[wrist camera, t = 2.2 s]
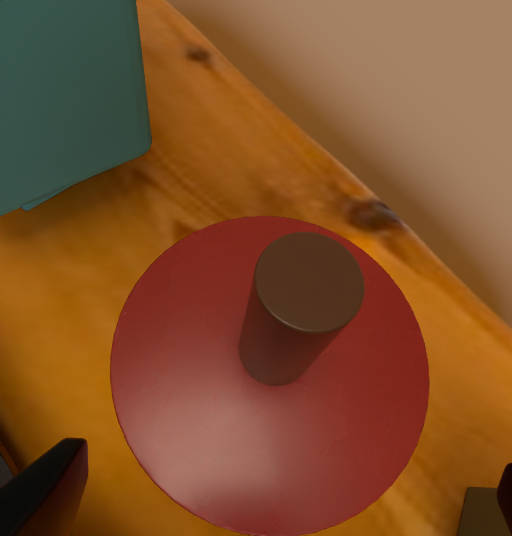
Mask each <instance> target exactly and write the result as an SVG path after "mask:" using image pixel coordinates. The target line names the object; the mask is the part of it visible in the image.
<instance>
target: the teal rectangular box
mask: <svg viewBox="0 0 512 536" xmlns="http://www.w3.org/2000/svg"><path fill="white" fill-rule="evenodd" d="M151 143H152V137H151V129H150V120H149V111H148V102H147V93H146V85H145V76H144V67H143V58H142V49H141V41H140V32H139V23H138V14H137V6H136V0H0V216H2V215H4V214H6V213H9V212H11V211H13V210H16V209H18V208H20V207H21V208H22V209H23V210H25V211H28V210H30V209H32V208H34V207H35V206H37V205H39V204H41V203H42V202H44V201H46V200H48V199H49V198H51V197H53V196H55V195H56V194H58V193H60V192H62V191H63V190H65V189H67V188H69V187H70V186H72V185H74V184H76V183H79V182H81V181H83V180H86V179H88V178H90V177H93V176H95V175H97V174H100V173H102V172H104V171H107V170H109V169H111V168H114V167H116V166H118V165H121V164H123V163H125V162H128V161H130V160H132V159H135V158H137V157H139V156H142V155H144V154H145V153H146V152H148V151H149V149H150V147H151Z"/></svg>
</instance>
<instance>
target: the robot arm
mask: <svg viewBox="0 0 512 536" xmlns="http://www.w3.org/2000/svg"><path fill="white" fill-rule="evenodd" d="M87 478H88V445H87V441H86V440H85V439H83V438H65V439H63V440H62V441H60V442H59V443H58V444H56V445H55V446H54V447H52V448H51V449H50V450H48V451H47V452H46V453H44V454H43V455H42V456H41V457H39V458H38V459H37V460H35V461H34V462H33V463H31V464H30V465H29V466H27V467H26V468H25V469H23V470H22V471H21V472H19V473H18V474H17V475H16V476H14V477H13V478H12V479H10V480H9V481H8V482H6V483H5V484H4V485H2V486H1V487H0V536H70V533H71V530H72V527H73V524H74V521H75V517H76V514H77V511H78V508H79V505H80V501H81V498H82V495H83V492H84V489H85V485H86V482H87ZM496 498H497V502H498V505H499V508H500V510H501V512H502V515H503V517H504V519H505V522H506V524H507V527H508V529H509V531H510V534H511V536H512V463H509V464H507V465H506V467H505V469H504V472H503V474H502V477H501V480H500V482H499V485H498V488H497V491H496Z"/></svg>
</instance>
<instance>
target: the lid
mask: <svg viewBox="0 0 512 536" xmlns="http://www.w3.org/2000/svg"><path fill="white" fill-rule="evenodd" d="M110 381H111V389H112V398H113V403H114V407H115V411H116V414H117V418H118V422H119V425H120V427H121V429H122V432H123V434H124V437H125V439H126V441H127V444H128V446H129V447H130V449H131V451H132V452H133V454H134V456H135V457H136V459H137V461H138V463H139V464H140V466H141V467H142V468H143V469H144V471H145V472H146V473H147V474H148V476H149V477H150V478H151V479H152V481H153V482H154V483H155V484H156V485H157V486H158V487H159V488H160V489H161V490H162V491H163V492H164V493H166V494H167V495H168V496H169V497H170V498H171V499H172V500H173V501H174V502H176V503H177V504H179V505H180V506H182V507H183V508H185V509H186V510H188V511H189V512H191V513H192V514H193V515H195V516H197V517H199V518H201V519H203V520H205V521H208V522H210V523H212V524H214V525H216V526H218V527H222V528H225V529H228V530H231V531H235V532H238V533H241V534H248V535H255V536H298V535H303V534H309V533H315V532H318V531H321V530H324V529H327V528H330V527H333V526H336V525H338V524H340V523H342V522H344V521H346V520H348V519H350V518H351V517H353V516H355V515H357V514H359V513H360V512H362V511H363V510H364V509H366V508H367V507H368V506H370V505H371V504H372V503H374V502H375V501H376V500H378V499H379V498H380V497H381V495H382V494H383V493H384V492H385V491H386V490H387V489H388V488H389V487H390V486H391V485H392V484H393V483H394V482H395V480H396V479H397V478H398V476H399V475H400V474H401V472H402V471H403V469H404V468H405V467H406V465H407V463H408V461H409V459H410V458H411V456H412V454H413V452H414V450H415V448H416V446H417V443H418V440H419V438H420V435H421V432H422V429H423V426H424V422H425V417H426V412H427V407H428V398H429V367H428V359H427V354H426V348H425V343H424V340H423V337H422V334H421V330H420V327H419V324H418V322H417V320H416V318H415V315H414V313H413V311H412V309H411V307H410V305H409V303H408V301H407V300H406V298H405V296H404V295H403V293H402V291H401V290H400V289H399V287H398V286H397V285H396V283H395V282H394V281H393V279H392V278H391V277H390V275H389V274H388V273H387V272H386V271H385V270H384V269H383V268H382V267H381V266H380V265H379V264H378V263H377V262H376V261H375V260H374V259H373V258H372V257H370V256H369V255H368V254H367V253H366V252H365V251H363V250H362V249H361V248H359V247H358V246H356V245H355V244H353V243H352V242H350V241H349V240H347V239H345V238H343V237H342V236H340V235H338V234H336V233H334V232H332V231H330V230H327V229H325V228H322V227H320V226H317V225H315V224H311V223H307V222H304V221H300V220H296V219H290V218H284V217H271V216H256V217H243V218H237V219H231V220H227V221H223V222H220V223H216V224H213V225H210V226H208V227H205V228H203V229H201V230H198V231H196V232H194V233H192V234H190V235H189V236H187V237H185V238H183V239H182V240H180V241H178V242H177V243H176V244H174V245H173V246H172V247H170V248H169V249H168V250H166V251H165V252H164V253H163V254H162V255H161V256H159V257H158V258H157V259H156V260H155V261H154V262H153V263H152V264H151V265H150V266H149V268H148V269H147V270H146V271H145V273H144V274H143V275H142V276H141V278H140V279H139V280H138V282H137V283H136V285H135V286H134V288H133V290H132V291H131V293H130V295H129V296H128V298H127V300H126V303H125V305H124V307H123V309H122V312H121V314H120V316H119V320H118V323H117V326H116V330H115V333H114V338H113V344H112V351H111V363H110Z"/></svg>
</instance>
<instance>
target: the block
mask: <svg viewBox="0 0 512 536" xmlns="http://www.w3.org/2000/svg"><path fill="white" fill-rule="evenodd" d="M496 491H497V488H481V487H468V489H467V494H466V498H465V503H464V507H463V512H462V516H461V521H460V525H459V530H458V534H457V536H511V534H510V531H509V529H508V527H507V524H506V522H505V519H504V517H503V515H502V512H501V510H500V508H499V505H498V502H497V498H496Z"/></svg>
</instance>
